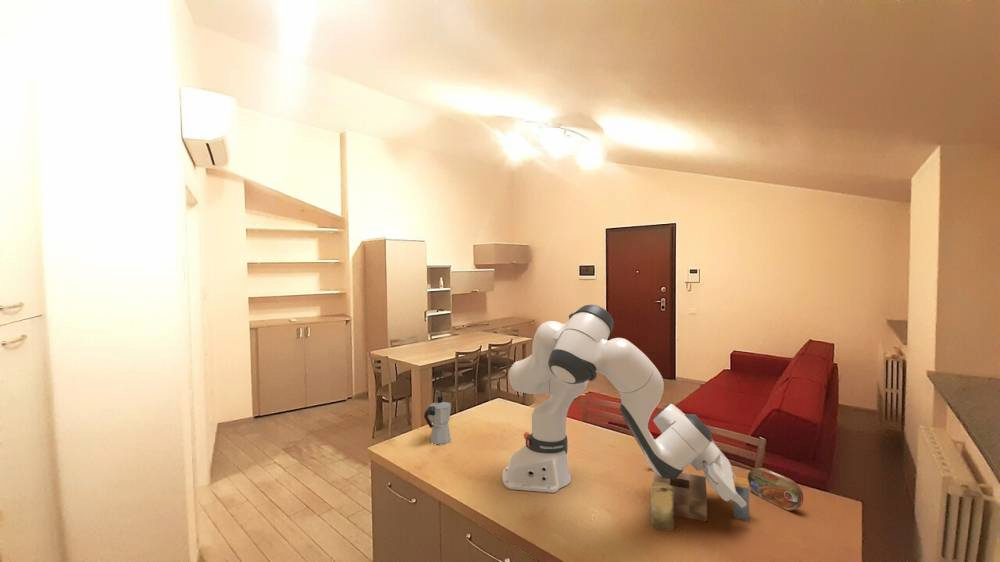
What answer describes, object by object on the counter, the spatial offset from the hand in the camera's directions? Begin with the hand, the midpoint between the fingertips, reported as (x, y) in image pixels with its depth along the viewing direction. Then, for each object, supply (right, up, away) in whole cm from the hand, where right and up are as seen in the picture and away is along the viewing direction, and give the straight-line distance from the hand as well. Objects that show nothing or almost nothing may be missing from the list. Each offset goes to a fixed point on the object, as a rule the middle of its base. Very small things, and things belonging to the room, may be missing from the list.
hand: (742, 496), depth 117 cm
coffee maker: (-91, -5, +53) cm, 105 cm away
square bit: (0, -6, +1) cm, 6 cm away
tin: (+14, -6, +8) cm, 17 cm away
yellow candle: (-23, -6, -3) cm, 24 cm away
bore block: (-14, -6, +7) cm, 17 cm away
